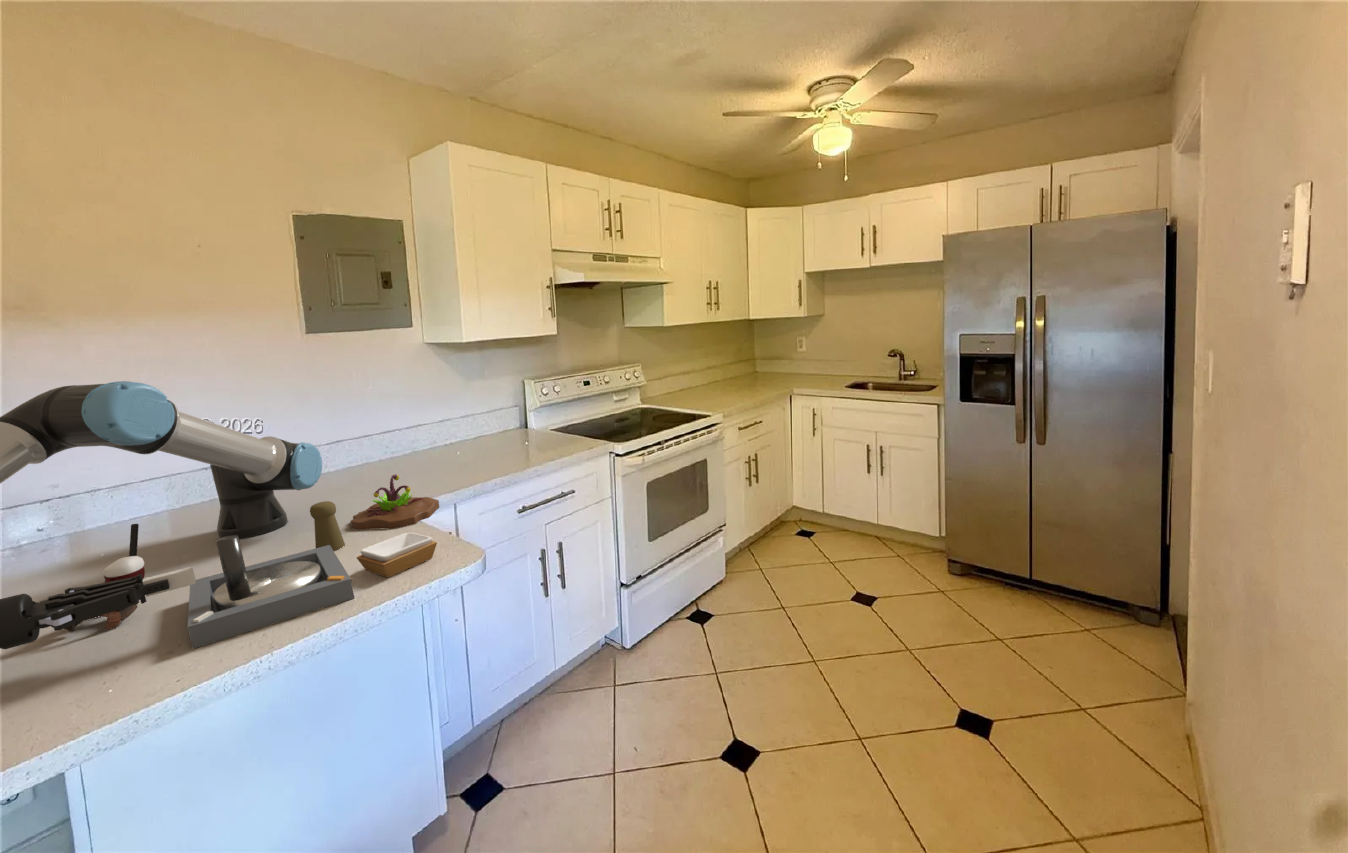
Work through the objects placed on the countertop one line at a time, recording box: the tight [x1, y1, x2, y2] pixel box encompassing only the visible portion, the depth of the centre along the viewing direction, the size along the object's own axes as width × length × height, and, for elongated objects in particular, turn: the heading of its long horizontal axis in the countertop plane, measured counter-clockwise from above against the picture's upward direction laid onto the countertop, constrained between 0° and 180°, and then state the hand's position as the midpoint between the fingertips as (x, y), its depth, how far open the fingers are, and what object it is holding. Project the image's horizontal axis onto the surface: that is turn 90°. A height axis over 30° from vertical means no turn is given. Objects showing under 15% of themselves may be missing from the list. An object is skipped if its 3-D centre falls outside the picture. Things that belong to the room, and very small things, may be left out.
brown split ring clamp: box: [50, 604, 138, 633], centre depth 109 cm, size 12×10×8 cm
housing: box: [187, 545, 355, 650], centre depth 115 cm, size 24×24×4 cm
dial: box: [213, 535, 322, 611], centre depth 114 cm, size 17×17×13 cm
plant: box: [350, 473, 440, 531], centre depth 160 cm, size 20×20×11 cm
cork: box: [309, 500, 346, 552], centre depth 139 cm, size 6×6×11 cm
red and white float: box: [102, 523, 146, 583], centre depth 126 cm, size 10×6×12 cm, turn 156°
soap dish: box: [356, 532, 438, 578], centre depth 127 cm, size 12×10×5 cm
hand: (193, 575), depth 104 cm, fingers closed
